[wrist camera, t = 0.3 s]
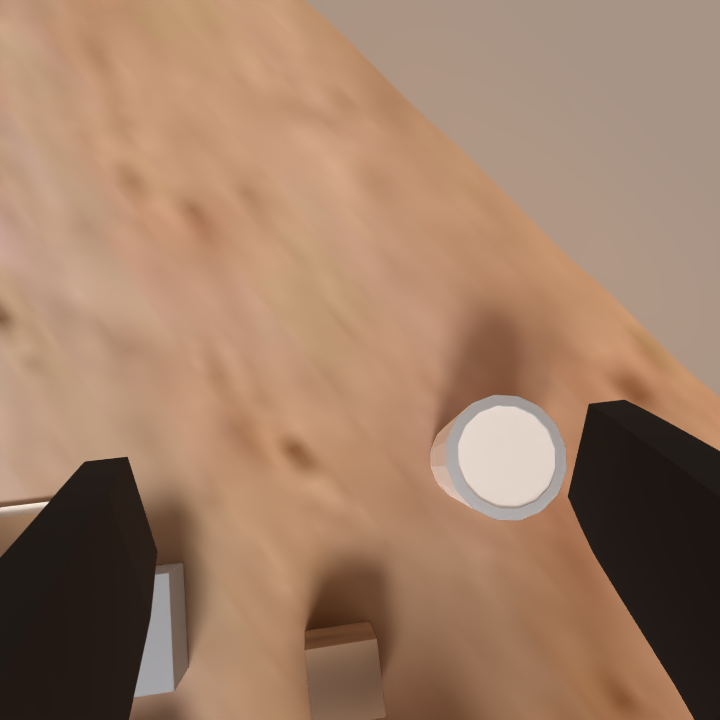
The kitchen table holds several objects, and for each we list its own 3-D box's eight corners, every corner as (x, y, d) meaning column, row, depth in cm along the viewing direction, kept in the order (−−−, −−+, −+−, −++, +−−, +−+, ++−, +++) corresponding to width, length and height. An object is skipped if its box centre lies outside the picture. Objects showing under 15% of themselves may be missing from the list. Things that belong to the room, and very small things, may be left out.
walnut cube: (377, 690, 35) (386, 717, 31) (311, 701, 34) (312, 730, 30) (368, 620, 36) (376, 638, 32) (304, 630, 35) (304, 650, 31)
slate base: (189, 666, 34) (174, 691, 30) (84, 681, 34) (55, 708, 30) (183, 562, 35) (168, 573, 31) (82, 574, 35) (54, 587, 31)
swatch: (75, 622, 34) (70, 625, 33) (-55, 641, 33) (-62, 644, 32) (71, 498, 35) (67, 499, 35) (-53, 513, 34) (-60, 514, 34)
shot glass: (432, 397, 39) (459, 380, 32) (529, 421, 39) (576, 410, 32) (410, 499, 37) (434, 504, 30) (511, 523, 37) (557, 534, 31)
